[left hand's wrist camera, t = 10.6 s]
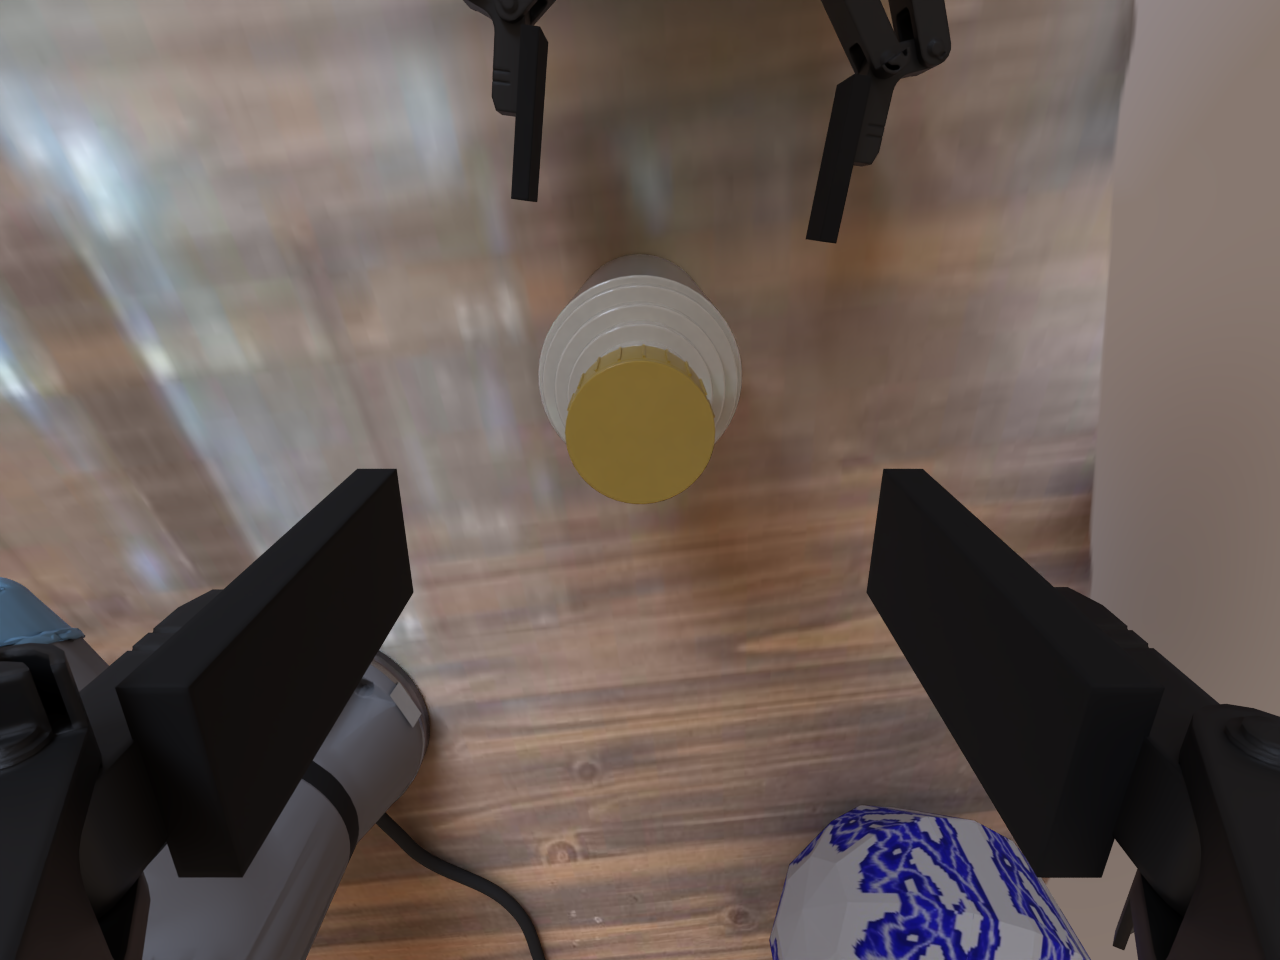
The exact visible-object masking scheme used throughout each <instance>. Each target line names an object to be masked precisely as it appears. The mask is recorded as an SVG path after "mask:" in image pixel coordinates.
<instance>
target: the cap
mask: <svg viewBox="0 0 1280 960" xmlns="http://www.w3.org/2000/svg"><path fill="white" fill-rule="evenodd" d="M706 395H707V392H706V389H705V387H704V384H703V381H702V379H699V378H698V376H697V375H696V373H695V372H694V371H693V369H692V368H691V367H690V366H689V364H688V362H687V361H685V362H684V361H683V360H682V359H680V358H679V357H677V356H676V355H674V354H672V353H670V352H669V351H668V349H666V350H663V349H660V348H656V347H651V346H645V344H642V346H630V347H625V348H622V347H619V349H617V350H615V351H612V352H610V353H608V354H606V355H605V356H603V357H598V359H597V361H596V362H595V363H594V364H593V365H592V366H591V367H590V368H589V369H588V370H587V371H586V373H583V374H582V376H581V378H580V381H579V384H578V387H577V389H576V392H575V393H573V395H572V397H571V400H570V403H569V405H568V408H567V411H568V415H567V419H566V427H565V438H566V445H567V450H568V453H569V456H570V459H571V461H572V463H573V465H574V467H575V468H576V470H577V471H578V473H579V474H580V476H581V477H582V478H583V479H584V480H585V481H586V482H587V483H588V484H589V485H590V486H591V487H592V488H594V489H595V490H597V491H598V492H599V493H601V494H603V495H605V496H607V497H609V498H612V499H614V500H617V501H621V502H625V503H631V504H649V503H656V502H660V501H664V500H666V499H669V498H672V497H674V496H676V495H678V494H679V493H681V492H683V491H684V490H685V489H687V488H688V487H689V486H690V485H692V484H693V483H694V482H695V481H696V480H697V479H698V477H699V476H700V475H701V474H702V472H703V471H704V469H705V468H706V466H707V464H708V462H709V460H710V458H711V455H712V451H713V448H714V442H715V422H714V418H715V414H714V412H713V409H712V406H711V404H710V401H709V400H708V399H707V396H706Z"/></svg>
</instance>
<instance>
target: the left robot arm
mask: <svg viewBox="0 0 1280 960" xmlns="http://www.w3.org/2000/svg"><path fill="white" fill-rule="evenodd" d="M412 594H413V586H412V578H411V571H410V564H409V556H408V549H407V542H406V534H405V527H404V520H403V512H402V505H401V498H400V490H399V483H398V476H397V469H357V470H356V471H354V472H353V473H352V474H351V475H350V476H349V477H348V478H347V479H346V480H344V481H343V482H342V483H341V484H340V485H339V486H338V487H337V488H336V489H334V490H333V491H332V492H331V493H330V494H329V495H328V496H327V497H326V498H324V499H323V500H322V501H321V502H320V503H319V504H318V505H317V506H316V507H315V508H313V509H312V510H311V511H310V512H309V513H308V514H307V515H306V516H305V517H303V518H302V519H301V520H300V521H299V522H298V523H297V524H296V525H295V526H293V527H292V528H291V529H290V530H289V531H288V532H287V533H286V534H285V535H283V536H282V537H281V538H280V539H279V540H278V541H277V542H276V543H275V544H273V545H272V546H271V547H270V548H269V549H268V550H267V551H266V552H265V553H263V554H262V555H261V556H260V557H259V558H258V559H257V560H256V561H255V562H253V563H252V564H251V565H250V566H249V567H248V568H247V569H246V570H245V571H244V572H242V573H241V574H240V575H239V576H238V577H237V578H236V579H235V580H234V581H232V582H231V583H230V584H229V585H228V586H227V587H226V588H225V589H224V590H211V591H209V592H207V593H205V594H203V595H201V596H199V597H197V598H196V599H194V600H192V601H190V602H188V603H186V604H184V605H182V606H180V607H178V608H177V609H176V610H175V611H174V612H172V613H171V614H170V615H169V616H168V617H166V618H165V619H164V620H163V621H162V622H161V623H159V624H158V625H157V626H156V627H155V628H154V629H153V630H154V631H153V633H148V634H147V635H145V636H144V637H143V638H142V639H141V640H139V641H138V642H137V643H136V644H135V645H134V646H133V649H132V651H127V652H125V653H124V654H123V655H122V656H121V657H120V658H118V659H117V660H116V661H115V662H114V663H112V664H111V665H110V666H109V665H108V664H107V663H106V662H105V661H104V660H103V659H102V658H101V657H100V656H99V655H98V654H97V653H96V652H95V651H94V650H93V649H92V648H91V647H90V645H89V644H88V643H87V642H86V641H85V640H84V639H83V638H84V637H85V635H84V634H83V633H82V631H81V630H79V629H78V628H71V627H70V626H69V625H68V624H67V623H66V622H64V621H63V620H62V619H61V618H60V617H59V616H58V615H56V614H55V613H54V612H53V611H52V610H51V609H50V608H48V607H47V606H46V605H45V604H44V603H43V602H42V601H40V600H39V599H38V598H37V597H36V596H35V595H34V594H33V593H31V592H30V591H29V590H28V589H27V588H26V587H24V586H23V585H21V584H19V583H17V582H15V581H13V580H10V579H7V578H2V577H0V960H306V957H307V955H308V953H309V951H310V948H311V946H312V944H313V942H314V939H315V937H316V935H317V933H318V930H319V928H320V926H321V924H322V921H323V919H324V917H325V915H326V912H327V910H328V908H329V906H330V903H331V901H332V899H333V897H334V894H335V892H336V890H337V888H338V885H339V883H340V881H341V879H342V876H343V874H344V872H345V870H346V867H347V865H348V862H349V860H350V858H351V856H352V853H353V851H354V849H355V847H356V845H357V843H358V842H359V841H360V839H361V838H362V837H363V836H364V835H365V834H366V833H367V832H368V831H369V830H370V829H371V828H372V826H373V825H374V824H375V823H376V824H377V825H378V826H379V827H380V828H381V829H382V830H383V831H384V832H385V833H387V834H388V835H389V836H390V837H391V838H392V839H393V840H394V841H395V842H396V843H397V844H398V845H399V846H400V847H401V848H402V849H403V850H404V851H405V852H406V853H407V854H408V855H409V856H410V857H412V858H413V859H414V860H416V861H417V862H419V863H420V864H422V865H423V866H425V867H426V868H428V869H430V870H432V871H434V872H436V873H438V874H440V875H442V876H444V877H447V878H449V879H451V880H454V881H456V882H459V883H461V884H464V885H466V886H468V887H471V888H473V889H475V890H477V891H479V892H481V893H483V894H485V895H487V896H489V897H490V898H492V899H494V900H495V901H496V902H498V903H499V904H501V905H502V906H503V907H504V908H505V909H506V910H507V911H508V912H509V913H510V914H511V915H512V916H513V917H514V918H515V919H516V921H517V922H518V924H519V925H520V927H521V929H522V931H523V933H524V935H525V938H526V940H527V943H528V946H529V949H530V952H531V956H532V958H533V960H545V957H544V954H543V951H542V948H541V945H540V941H539V938H538V935H537V933H536V930H535V928H534V926H533V924H532V922H531V920H530V918H529V917H528V915H527V914H526V912H525V911H524V909H523V908H522V907H521V906H520V905H519V903H518V902H517V901H516V900H515V899H514V898H513V897H512V896H510V895H509V894H508V893H507V892H506V891H504V890H503V889H502V888H500V887H499V886H497V885H495V884H494V883H492V882H490V881H488V880H486V879H484V878H482V877H480V876H478V875H476V874H473V873H471V872H469V871H466V870H464V869H461V868H459V867H457V866H454V865H452V864H450V863H447V862H445V861H443V860H441V859H439V858H438V857H436V856H434V855H432V854H431V853H429V852H428V851H426V850H424V849H423V848H422V847H420V846H419V845H418V844H417V843H416V842H415V841H414V840H413V839H412V838H411V837H410V836H409V835H408V834H407V833H406V832H405V831H404V830H403V829H402V828H401V827H400V826H399V825H398V824H397V823H396V822H395V821H394V820H393V819H392V818H391V817H389V816H388V815H387V814H386V813H385V812H386V811H387V810H388V808H389V807H390V806H391V805H392V804H393V803H394V802H395V801H396V800H397V799H399V798H400V797H401V796H402V795H403V793H404V792H405V791H406V790H407V788H408V787H409V785H410V784H411V783H412V781H413V780H414V778H415V776H416V775H417V773H418V770H419V768H420V765H421V763H422V760H423V758H424V755H425V753H426V750H427V747H428V743H429V736H430V724H429V717H428V712H427V709H426V706H425V703H424V700H423V698H422V696H421V694H420V692H419V691H418V689H417V687H416V686H415V684H414V683H413V681H412V680H411V679H410V677H409V676H408V675H407V674H406V673H405V672H404V671H403V670H402V669H401V668H400V667H399V666H398V665H397V664H396V663H395V662H394V661H392V660H391V659H390V658H389V657H387V656H386V655H385V654H383V653H382V652H380V651H379V649H380V647H381V646H382V644H383V642H384V641H385V639H386V637H387V636H388V634H389V632H390V631H391V629H392V627H393V626H394V624H395V622H396V621H397V619H398V617H399V616H400V614H401V612H402V611H403V609H404V607H405V606H406V604H407V602H408V601H409V599H410V597H411V596H412ZM867 594H868V596H869V597H870V599H871V601H872V602H873V604H874V606H875V607H876V609H877V611H878V612H879V614H880V616H881V617H882V619H883V621H884V622H885V624H886V626H887V627H888V629H889V631H890V632H891V634H892V636H893V637H894V639H895V641H896V642H897V644H898V646H899V647H900V649H901V651H902V652H903V654H904V656H905V657H906V659H907V661H908V662H909V664H910V666H911V667H912V669H913V671H914V672H915V674H916V676H917V677H918V679H919V681H920V682H921V684H922V686H923V687H924V689H925V691H926V692H927V694H928V696H929V697H930V699H931V701H932V702H933V704H934V706H935V707H936V709H937V711H938V712H939V714H940V716H941V717H942V719H943V721H944V722H945V724H946V726H947V727H948V729H949V731H950V732H951V734H952V736H953V737H954V739H955V741H956V742H957V744H958V746H959V747H960V749H961V751H962V752H963V754H964V756H965V757H966V759H967V761H968V762H969V764H970V766H971V768H972V769H973V771H974V773H975V774H976V776H977V778H978V779H979V781H980V783H981V784H982V786H983V788H984V789H985V791H986V793H987V794H988V796H989V798H990V799H991V801H992V803H993V804H994V806H995V808H996V809H997V811H998V813H999V814H1000V816H1001V818H1002V819H1003V821H1004V823H1005V824H1006V826H1007V828H1008V829H1009V831H1010V833H1011V834H1012V836H1013V838H1014V839H1015V841H1016V843H1017V844H1018V846H1019V848H1020V849H1021V851H1022V853H1023V854H1024V856H1025V858H1026V859H1027V861H1028V863H1029V864H1030V866H1031V868H1032V869H1033V871H1034V873H1035V874H1036V876H1037V878H1101V877H1102V875H1103V872H1104V869H1105V866H1106V863H1107V860H1108V857H1109V854H1110V851H1111V848H1112V845H1113V842H1114V839H1116V841H1117V842H1118V843H1119V845H1120V846H1121V847H1122V849H1123V850H1124V851H1125V853H1126V854H1127V855H1128V856H1129V858H1130V859H1131V860H1132V862H1133V863H1134V864H1135V866H1136V867H1137V868H1138V869H1137V872H1136V875H1135V877H1134V880H1133V883H1132V886H1131V889H1130V891H1129V894H1128V897H1127V900H1126V903H1125V905H1124V908H1123V911H1122V914H1121V916H1120V919H1119V922H1118V925H1117V928H1116V930H1115V936H1114V942H1113V946H1114V947H1117V948H1119V949H1122V950H1124V949H1125V947H1126V944H1127V941H1128V939H1129V936H1130V934H1132V933H1134V934H1135V941H1136V947H1137V955H1138V960H1280V717H1279V716H1276V715H1273V714H1270V713H1267V712H1263V711H1260V710H1257V709H1254V708H1248V707H1242V706H1236V705H1230V704H1219V703H1218V702H1216V701H1215V700H1214V699H1213V698H1212V697H1211V696H1209V695H1208V694H1207V693H1206V692H1205V691H1203V690H1202V689H1201V688H1200V687H1199V686H1198V685H1196V684H1195V683H1194V682H1193V681H1192V680H1191V679H1189V678H1188V677H1187V676H1186V675H1185V674H1183V673H1182V672H1181V671H1180V670H1179V669H1177V668H1176V667H1175V666H1174V665H1173V664H1172V663H1170V662H1169V661H1168V660H1167V659H1166V658H1164V657H1163V656H1162V655H1161V654H1160V653H1159V652H1157V651H1156V650H1155V649H1154V648H1149V647H1148V643H1147V642H1146V641H1144V640H1143V639H1142V638H1141V637H1140V636H1138V635H1137V634H1136V633H1135V632H1134V631H1133V630H1128V629H1127V625H1125V624H1124V623H1123V622H1122V621H1121V620H1120V619H1118V618H1117V617H1116V616H1115V615H1114V614H1112V613H1111V612H1110V611H1109V610H1108V609H1107V608H1105V607H1104V606H1103V605H1101V604H1099V603H1097V602H1096V601H1094V600H1092V599H1090V598H1088V597H1086V596H1084V595H1082V594H1080V593H1078V592H1076V591H1074V590H1072V589H1070V588H1068V587H1053V586H1052V585H1051V584H1050V583H1049V582H1048V581H1046V580H1045V579H1044V578H1043V577H1042V576H1041V575H1040V574H1039V573H1038V572H1036V571H1035V570H1034V569H1033V568H1032V567H1031V566H1030V565H1029V564H1028V563H1027V562H1025V561H1024V560H1023V559H1022V558H1021V557H1020V556H1019V555H1018V554H1017V553H1015V552H1014V551H1013V550H1012V549H1011V548H1010V547H1009V546H1008V545H1007V544H1005V543H1004V542H1003V541H1002V540H1001V539H1000V538H999V537H998V536H997V535H995V534H994V533H993V532H992V531H991V530H990V529H989V528H988V527H987V526H985V525H984V524H983V523H982V522H981V521H980V520H979V519H978V518H977V517H975V516H974V515H973V514H972V513H971V512H970V511H969V510H968V509H967V508H965V507H964V506H963V505H962V504H961V503H960V502H959V501H958V500H957V499H956V498H954V497H953V496H952V495H951V494H950V493H949V492H948V491H947V490H946V489H944V488H943V487H942V486H941V485H940V484H939V483H938V482H937V481H936V480H934V479H933V478H932V477H931V476H930V475H929V474H928V473H927V472H926V471H924V470H923V469H883V476H882V483H881V490H880V498H879V505H878V512H877V520H876V527H875V534H874V542H873V549H872V556H871V564H870V571H869V578H868V586H867Z"/></svg>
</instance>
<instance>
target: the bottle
mask: <svg viewBox="0 0 1280 960" xmlns="http://www.w3.org/2000/svg"><path fill="white" fill-rule="evenodd" d="M642 344H645V346H651V347H656V348H660V349H663V350H666V349H668V351H669V352H670V353H672V354H674V355H676V356H677V357H679V358H680V359H682V360H683V361H684V362H685V361H687V362H688V364H689V366H690V367H691V368H692V369H693V371H694V372H695V373H696V375H697V376H698V378H699V379H702V381H703V384H704V387H705V389H706V392H707V395H706V396H707V399H708V400H709V401H710V404H711V406H712V409H713V412H714V414H715V418H714V422H715V442H714V444H715V443H716V442H717V441H718V439H719V438H720V437H721V436H722V435H723V433H724V432H725V430H726V429H727V427H728V426H729V424H730V422H731V420H732V418H733V416H734V414H735V411H736V408H737V405H738V402H739V397H740V392H741V386H742V366H741V358H740V354H739V349H738V346H737V343H736V340H735V337H734V335H733V333H732V331H731V329H730V327H729V325H728V324H727V322H726V321H725V319H724V318H723V316H722V315H721V314H720V312H719V311H718V310H717V309H716V307H715V306H714V305H713V304H712V302H711V301H710V300H709V299H708V297H707V296H706V295H705V294H704V292H703V291H702V290H701V289H700V288H699V286H698V285H697V284H696V283H695V281H694V280H693V279H692V278H691V277H690V276H689V275H688V274H687V272H685V271H684V270H683V269H682V268H680V267H679V266H678V265H676V264H674V263H673V262H671V261H669V260H667V259H664V258H661V257H658V256H655V255H648V254H633V255H626V256H622V257H619V258H616V259H614V260H611V261H609V262H608V263H606V264H604V265H603V266H601V267H600V268H599V269H597V270H596V271H595V272H594V273H593V274H592V275H591V276H590V277H589V278H588V279H587V280H586V282H585V283H584V284H583V285H582V287H581V288H580V289H579V290H578V292H577V293H576V294H575V295H574V297H573V298H572V299H571V300H570V302H569V303H568V304H567V305H566V307H565V308H564V309H563V310H562V312H561V313H560V314H559V316H558V317H557V318H556V320H555V321H554V323H553V324H552V326H551V328H550V330H549V332H548V334H547V336H546V339H545V341H544V344H543V347H542V351H541V356H540V360H539V371H538V378H539V390H540V395H541V400H542V404H543V407H544V410H545V413H546V415H547V417H548V419H549V421H550V423H551V425H552V426H553V428H554V430H555V431H556V433H557V434H558V435H559V437H560V438H561V439H562V440H563V441H564V443H565V444H566V438H565V427H566V419H567V415H568V411H567V408H568V405H569V403H570V400H571V397H572V395H573V393H575V392H576V389H577V387H578V384H579V381H580V378H581V376H582V374H583V373H586V371H587V370H588V369H589V368H590V367H591V366H592V365H593V364H594V363H595V362H596V361H597V359H598V357H603V356H605V355H606V354H608V353H610V352H612V351H615V350H617V349H619V347H622V348H625V347H630V346H642Z"/></svg>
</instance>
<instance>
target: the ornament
mask: <svg viewBox="0 0 1280 960" xmlns="http://www.w3.org/2000/svg"><path fill="white" fill-rule="evenodd" d="M769 941H770V946H771V952H772V957H773V960H1091V959H1090V957H1089V956H1088V954H1087V952H1086V951H1085V949H1084V947H1083V946H1082V944H1081V942H1080V941H1079V939H1078V938H1077V936H1076V934H1075V933H1074V931H1073V929H1072V928H1071V926H1070V924H1069V923H1068V921H1067V919H1066V918H1065V916H1064V914H1063V913H1062V911H1061V909H1060V908H1059V906H1058V904H1057V903H1056V901H1055V900H1054V898H1053V896H1052V895H1051V893H1050V891H1049V890H1048V888H1047V886H1046V885H1045V883H1044V881H1043V880H1042V878H1037V876H1036V874H1035V873H1034V871H1033V869H1032V868H1031V866H1030V864H1029V863H1028V861H1027V859H1026V858H1025V856H1024V855H1023V854H1022V852H1021V851H1020V850H1019V849H1018V847H1017V846H1016V845H1015V843H1014V842H1013V841H1011V840H1009V839H1008V838H1006V837H1004V836H1002V835H1000V834H998V833H996V832H995V831H993V830H991V829H989V828H987V827H985V826H983V825H981V824H980V823H978V822H976V821H974V820H968V819H962V818H956V817H950V816H944V815H938V814H932V813H925V812H919V811H913V810H907V809H901V808H895V807H881V806H865V805H860V806H858V807H856V808H854V809H853V810H851V811H849V812H847V813H845V814H844V815H842V816H840V817H838V818H836V819H835V820H833V821H831V822H830V823H829V824H828V825H827V826H826V827H825V829H824V830H823V831H822V832H821V833H820V834H819V835H818V836H817V837H816V838H815V839H814V840H813V841H812V842H811V843H810V844H809V845H808V846H807V847H806V848H805V849H804V850H803V851H802V852H801V853H800V854H799V855H798V856H797V857H796V858H795V859H794V860H793V861H792V862H791V863H790V864H789V868H788V872H787V876H786V879H785V883H784V887H783V891H782V894H781V898H780V902H779V906H778V909H777V913H776V917H775V921H774V925H773V928H772V932H771V936H770V940H769Z"/></svg>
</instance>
